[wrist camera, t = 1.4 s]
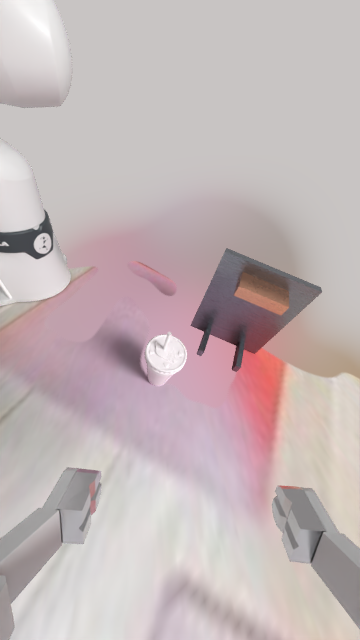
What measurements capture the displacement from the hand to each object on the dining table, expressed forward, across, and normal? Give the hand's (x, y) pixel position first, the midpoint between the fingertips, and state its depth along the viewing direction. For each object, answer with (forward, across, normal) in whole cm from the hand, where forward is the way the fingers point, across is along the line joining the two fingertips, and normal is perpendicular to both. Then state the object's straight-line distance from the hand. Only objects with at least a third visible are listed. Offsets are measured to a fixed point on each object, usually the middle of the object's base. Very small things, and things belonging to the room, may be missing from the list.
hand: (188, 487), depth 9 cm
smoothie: (+27, +4, +10) cm, 29 cm away
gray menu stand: (+34, -8, +7) cm, 36 cm away
